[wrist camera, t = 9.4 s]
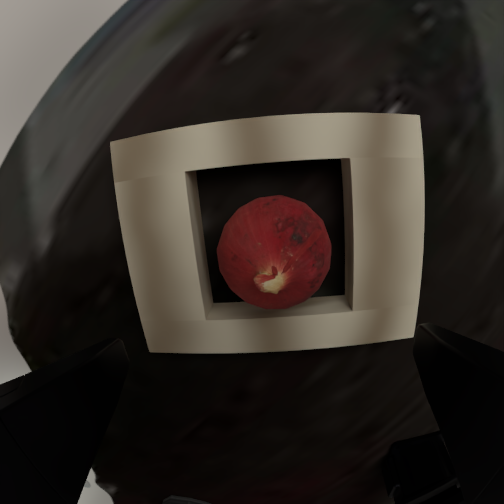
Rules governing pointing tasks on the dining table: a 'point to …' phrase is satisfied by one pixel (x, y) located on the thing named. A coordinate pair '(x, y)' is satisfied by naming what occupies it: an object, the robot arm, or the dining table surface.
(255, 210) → the onion
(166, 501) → the zipper pull
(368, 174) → the cutout board
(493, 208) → the dining table surface
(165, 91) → the dining table surface
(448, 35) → the dining table surface
